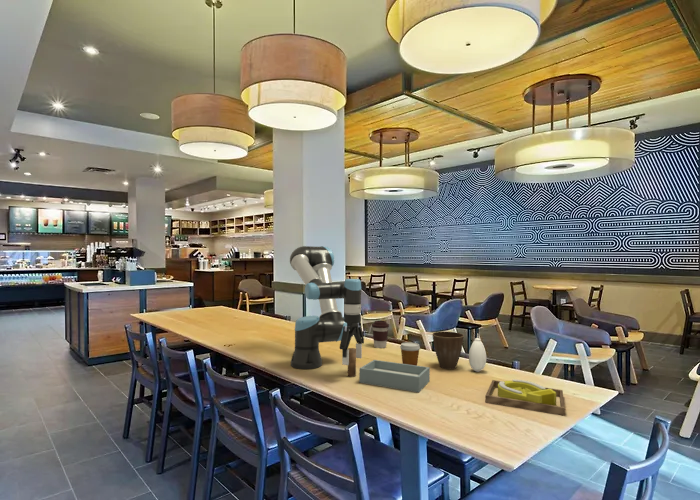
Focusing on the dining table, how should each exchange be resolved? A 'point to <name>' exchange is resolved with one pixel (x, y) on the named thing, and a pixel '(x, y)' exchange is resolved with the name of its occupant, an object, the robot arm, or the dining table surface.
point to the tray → (395, 375)
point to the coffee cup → (380, 333)
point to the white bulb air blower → (477, 355)
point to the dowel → (352, 362)
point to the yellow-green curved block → (526, 392)
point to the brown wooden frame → (525, 404)
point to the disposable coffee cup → (410, 353)
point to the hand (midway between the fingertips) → (352, 361)
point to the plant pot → (448, 348)
